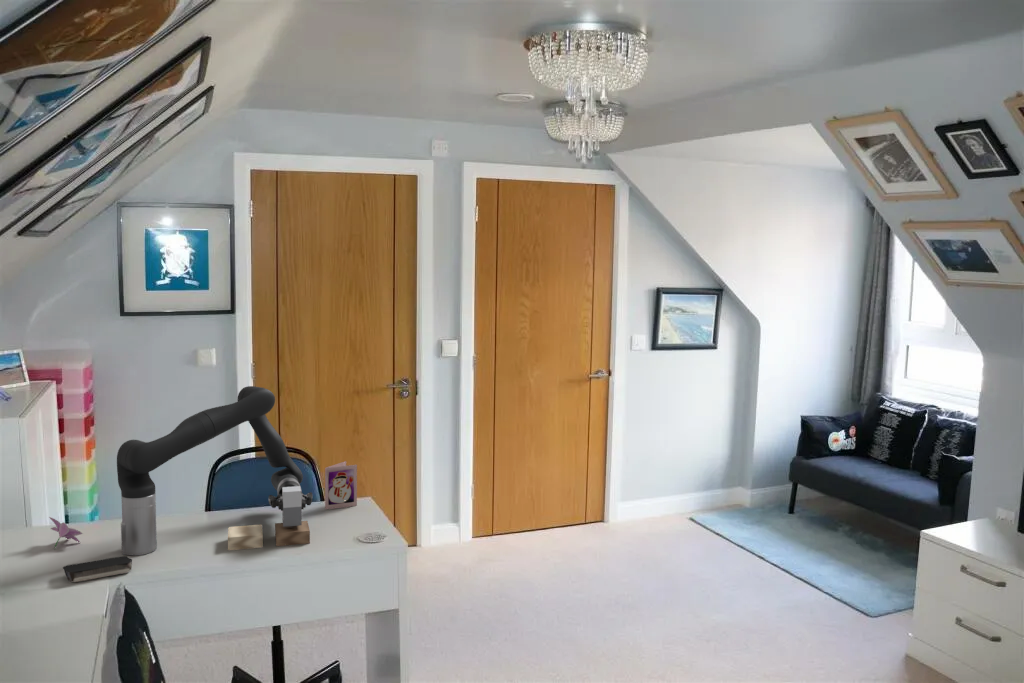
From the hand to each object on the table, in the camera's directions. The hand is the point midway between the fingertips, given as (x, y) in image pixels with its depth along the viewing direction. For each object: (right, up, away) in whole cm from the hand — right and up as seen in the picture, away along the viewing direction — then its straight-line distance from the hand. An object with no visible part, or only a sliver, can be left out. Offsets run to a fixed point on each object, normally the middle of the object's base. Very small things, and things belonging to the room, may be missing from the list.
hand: (292, 506), depth 249 cm
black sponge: (-46, -14, -27) cm, 55 cm away
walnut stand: (-1, -11, +3) cm, 11 cm away
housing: (-1, -6, +3) cm, 7 cm away
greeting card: (+6, -8, +39) cm, 41 cm away
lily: (-67, -11, -5) cm, 69 cm away
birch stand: (-14, -11, -1) cm, 18 cm away
